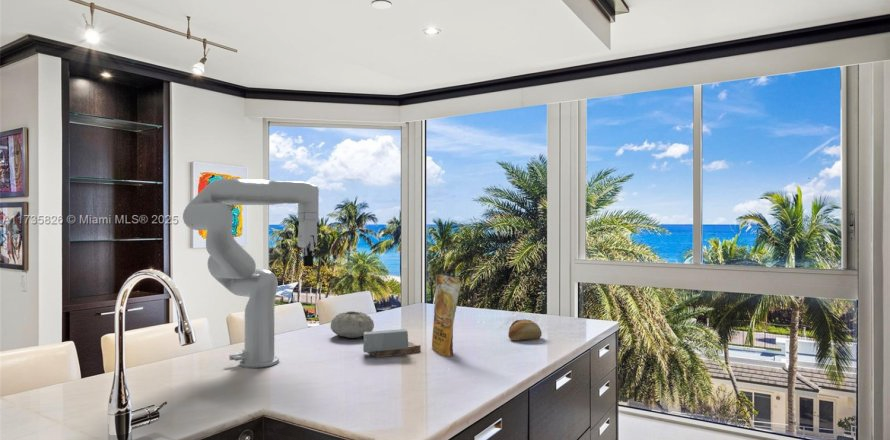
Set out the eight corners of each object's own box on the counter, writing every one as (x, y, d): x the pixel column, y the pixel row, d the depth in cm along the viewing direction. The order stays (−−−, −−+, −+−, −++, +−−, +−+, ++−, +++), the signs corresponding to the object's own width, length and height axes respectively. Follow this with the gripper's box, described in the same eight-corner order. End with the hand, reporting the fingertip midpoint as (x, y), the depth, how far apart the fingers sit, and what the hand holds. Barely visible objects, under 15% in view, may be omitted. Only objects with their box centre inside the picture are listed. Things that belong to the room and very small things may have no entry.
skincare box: (363, 352, 182) (408, 351, 184) (363, 331, 183) (408, 330, 185) (363, 349, 191) (407, 348, 193) (363, 329, 191) (407, 328, 193)
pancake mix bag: (443, 345, 203) (443, 273, 203) (462, 356, 185) (463, 278, 186) (426, 346, 201) (427, 273, 201) (445, 358, 183) (445, 278, 183)
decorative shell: (382, 335, 220) (382, 311, 221) (353, 343, 205) (354, 318, 205) (350, 330, 230) (350, 307, 230) (321, 338, 215) (321, 313, 215)
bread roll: (502, 338, 215) (502, 319, 215) (532, 335, 221) (532, 316, 221) (515, 343, 206) (515, 323, 206) (546, 340, 213) (546, 320, 213)
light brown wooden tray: (378, 357, 184) (378, 351, 184) (363, 349, 195) (364, 343, 195) (420, 351, 193) (420, 345, 193) (404, 344, 204) (404, 338, 204)
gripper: (292, 217, 202) (292, 265, 201) (304, 217, 189) (303, 268, 189) (312, 217, 205) (311, 264, 205) (324, 217, 193) (324, 267, 193)
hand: (308, 266), depth 197 cm, fingers closed
